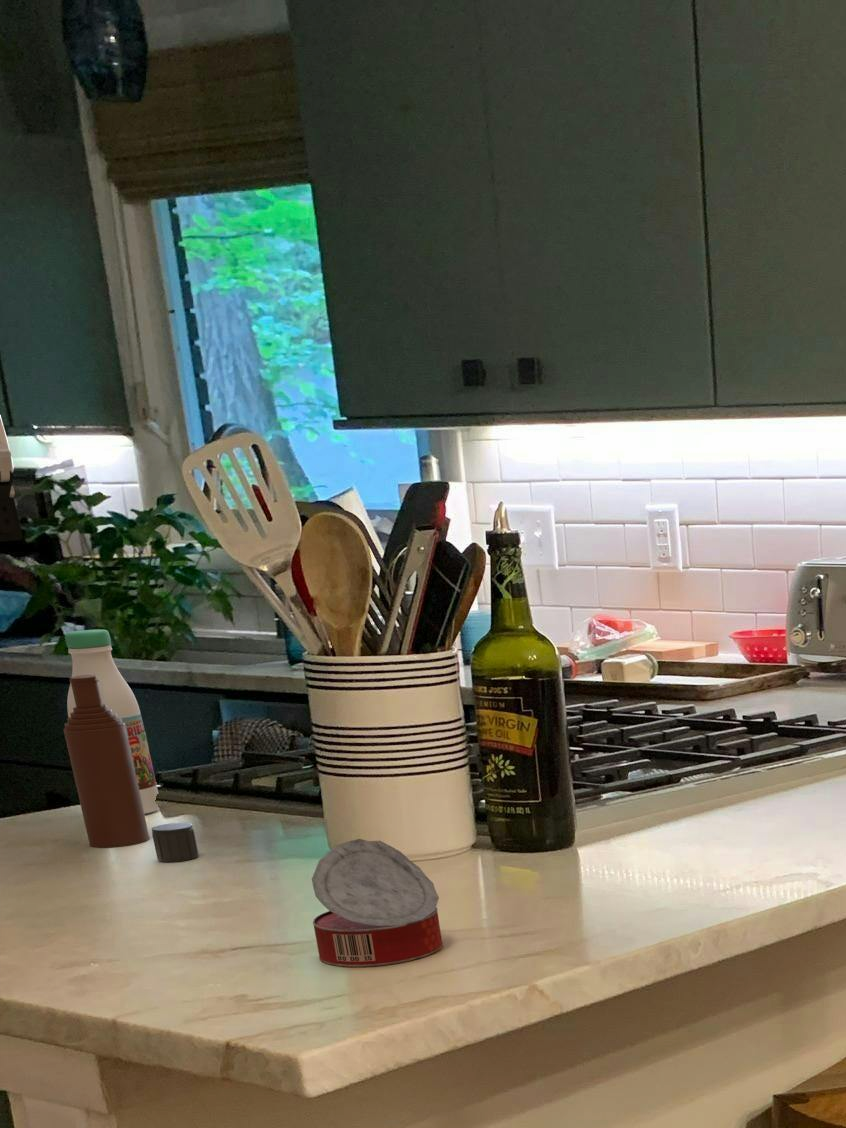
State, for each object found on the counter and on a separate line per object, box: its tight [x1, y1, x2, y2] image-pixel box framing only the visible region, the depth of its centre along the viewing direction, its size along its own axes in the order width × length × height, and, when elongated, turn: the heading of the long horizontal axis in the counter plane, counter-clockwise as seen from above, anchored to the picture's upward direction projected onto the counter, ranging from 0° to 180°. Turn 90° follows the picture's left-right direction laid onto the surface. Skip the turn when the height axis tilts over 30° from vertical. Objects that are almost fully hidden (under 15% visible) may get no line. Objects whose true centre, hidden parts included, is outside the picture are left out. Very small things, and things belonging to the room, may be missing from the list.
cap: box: [151, 822, 199, 863], centre depth 196 cm, size 4×4×3 cm
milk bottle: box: [64, 629, 160, 815], centre depth 218 cm, size 8×8×20 cm
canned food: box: [311, 838, 444, 968], centre depth 157 cm, size 11×10×10 cm
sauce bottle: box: [63, 675, 150, 848], centre depth 203 cm, size 6×6×17 cm
